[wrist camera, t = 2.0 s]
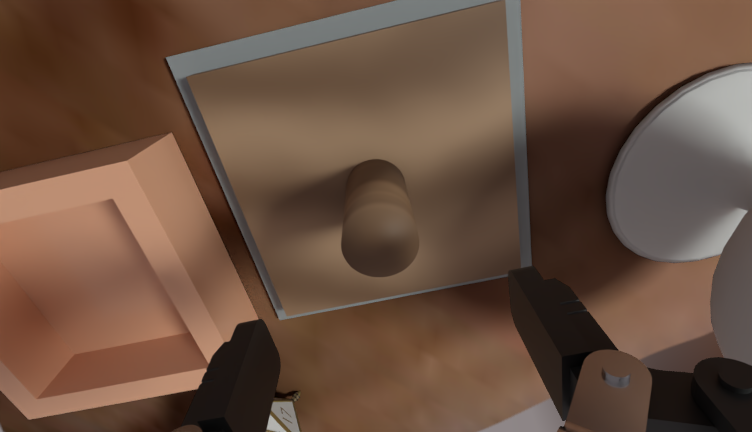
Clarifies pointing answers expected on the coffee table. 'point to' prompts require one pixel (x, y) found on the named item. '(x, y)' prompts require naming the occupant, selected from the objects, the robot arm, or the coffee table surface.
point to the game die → (284, 415)
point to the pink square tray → (110, 279)
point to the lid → (374, 158)
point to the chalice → (695, 193)
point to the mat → (410, 6)
